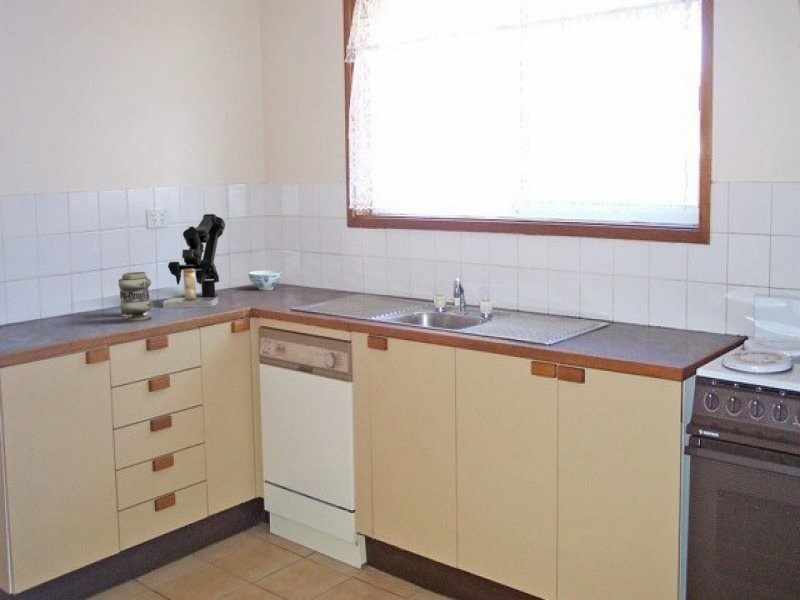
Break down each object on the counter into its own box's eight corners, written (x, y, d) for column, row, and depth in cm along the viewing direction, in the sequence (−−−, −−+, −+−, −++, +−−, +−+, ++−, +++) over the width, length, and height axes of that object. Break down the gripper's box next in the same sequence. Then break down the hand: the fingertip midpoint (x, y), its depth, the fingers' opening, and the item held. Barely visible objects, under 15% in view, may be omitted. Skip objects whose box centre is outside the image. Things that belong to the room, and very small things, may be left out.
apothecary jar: (120, 319, 362) (116, 272, 360) (152, 316, 366) (149, 269, 364) (122, 324, 351) (119, 275, 348) (156, 321, 355) (152, 273, 353)
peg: (191, 304, 394) (189, 268, 392) (199, 305, 391) (196, 268, 389) (183, 305, 390) (180, 269, 388) (190, 306, 388) (188, 270, 386)
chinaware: (271, 285, 443) (270, 269, 442) (289, 288, 432) (288, 271, 431) (243, 289, 434) (242, 272, 433) (260, 292, 422) (259, 275, 421)
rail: (171, 304, 397) (170, 298, 396) (218, 303, 395) (217, 297, 394) (163, 307, 387) (162, 301, 386) (211, 307, 385) (211, 300, 385)
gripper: (167, 242, 392) (160, 272, 383) (212, 241, 390) (206, 271, 381) (175, 259, 401) (168, 289, 392) (218, 258, 399) (212, 288, 390)
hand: (188, 284), depth 388 cm, fingers open, 9 cm apart
